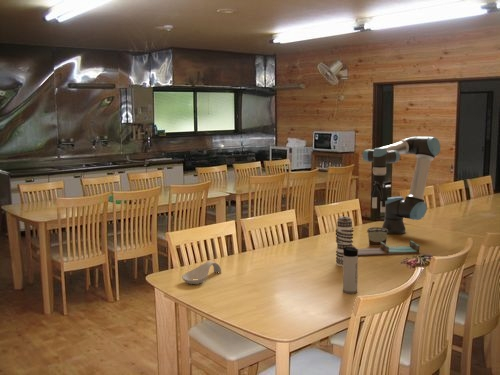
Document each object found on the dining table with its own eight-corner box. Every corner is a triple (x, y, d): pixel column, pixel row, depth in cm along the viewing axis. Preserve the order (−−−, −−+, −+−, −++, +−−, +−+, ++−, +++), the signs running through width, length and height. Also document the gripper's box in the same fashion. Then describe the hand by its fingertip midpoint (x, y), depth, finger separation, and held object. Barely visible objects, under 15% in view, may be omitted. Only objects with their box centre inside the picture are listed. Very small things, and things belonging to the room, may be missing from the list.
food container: (386, 243, 303) (386, 227, 301) (388, 245, 297) (388, 229, 295) (365, 243, 304) (365, 227, 303) (366, 245, 298) (367, 229, 297)
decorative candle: (356, 263, 263) (357, 216, 259) (347, 268, 256) (347, 219, 252) (341, 260, 269) (342, 214, 265) (332, 264, 262) (332, 217, 258)
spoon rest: (196, 289, 230) (196, 273, 229) (177, 284, 236) (176, 269, 235) (227, 274, 249) (226, 260, 248) (208, 271, 256) (207, 257, 255)
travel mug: (340, 289, 225) (340, 245, 222) (355, 288, 225) (355, 245, 223) (344, 294, 219) (344, 249, 216) (359, 293, 219) (359, 249, 216)
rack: (350, 250, 288) (350, 242, 287) (410, 248, 291) (410, 240, 290) (356, 256, 276) (357, 248, 275) (419, 253, 279) (419, 245, 279)
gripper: (365, 172, 306) (365, 206, 309) (381, 177, 282) (380, 214, 285) (377, 172, 307) (377, 206, 310) (394, 176, 282) (392, 213, 285)
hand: (378, 210), depth 297 cm, fingers open, 13 cm apart
